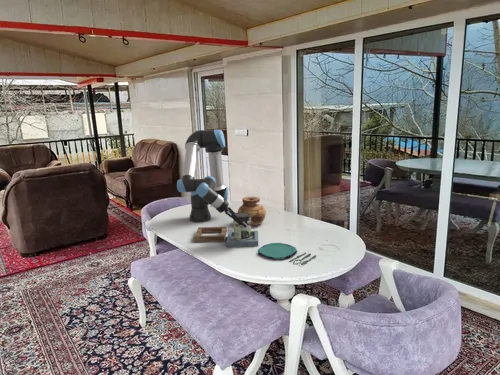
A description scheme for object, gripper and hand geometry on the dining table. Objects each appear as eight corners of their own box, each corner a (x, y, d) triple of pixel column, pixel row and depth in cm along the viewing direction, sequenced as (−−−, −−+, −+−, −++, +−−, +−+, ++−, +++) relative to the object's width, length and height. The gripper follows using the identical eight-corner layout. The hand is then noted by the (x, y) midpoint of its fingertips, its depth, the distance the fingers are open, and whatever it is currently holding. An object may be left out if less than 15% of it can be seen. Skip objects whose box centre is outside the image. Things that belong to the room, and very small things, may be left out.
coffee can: (252, 234, 222) (252, 212, 219) (249, 240, 212) (248, 217, 209) (236, 233, 224) (235, 211, 221) (232, 240, 214) (231, 216, 211)
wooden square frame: (198, 231, 237) (198, 227, 236) (226, 231, 236) (226, 226, 236) (194, 242, 219) (193, 237, 218) (224, 241, 219) (224, 236, 218)
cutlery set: (274, 243, 213) (274, 239, 213) (319, 257, 193) (319, 253, 193) (251, 254, 199) (251, 250, 198) (297, 270, 179) (297, 266, 179)
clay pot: (274, 218, 248) (265, 194, 240) (254, 234, 240) (244, 209, 231) (256, 212, 263) (247, 189, 255) (237, 227, 255) (227, 203, 246)
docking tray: (228, 235, 227) (228, 231, 227) (258, 235, 227) (257, 230, 226) (226, 246, 210) (226, 241, 209) (258, 246, 209) (258, 241, 209)
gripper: (212, 203, 221) (239, 225, 228) (218, 214, 199) (247, 238, 207) (220, 194, 221) (247, 216, 228) (227, 203, 200) (256, 228, 207)
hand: (247, 227), depth 217 cm, fingers closed on coffee can, 10 cm apart
